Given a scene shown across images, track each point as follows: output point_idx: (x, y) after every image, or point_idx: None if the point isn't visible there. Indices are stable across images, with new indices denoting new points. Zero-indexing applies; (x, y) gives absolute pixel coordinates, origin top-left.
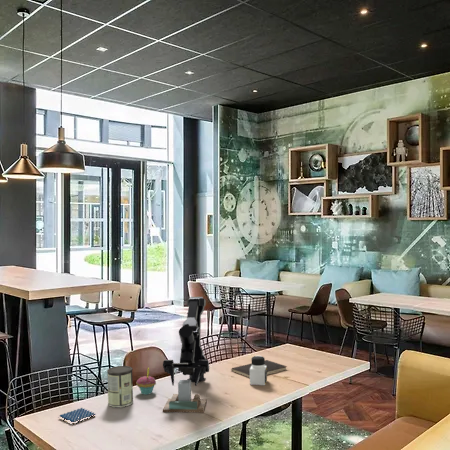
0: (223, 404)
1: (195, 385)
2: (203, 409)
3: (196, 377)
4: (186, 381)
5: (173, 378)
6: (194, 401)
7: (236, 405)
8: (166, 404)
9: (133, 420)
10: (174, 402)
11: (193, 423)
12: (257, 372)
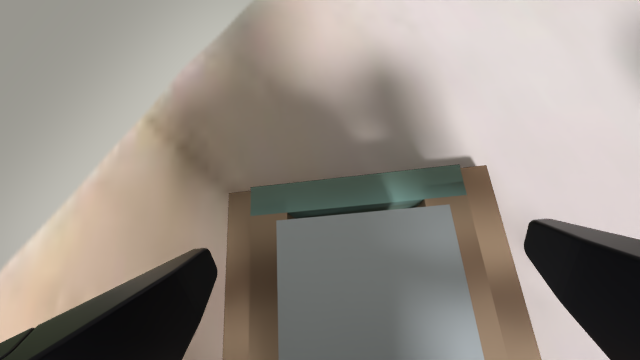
0: None
1: (212, 264)
2: (229, 208)
3: (113, 297)
4: (340, 324)
5: (633, 287)
6: (271, 211)
7: None
8: (504, 262)
9: (591, 41)
10: (417, 173)
11: (267, 67)
12: None
